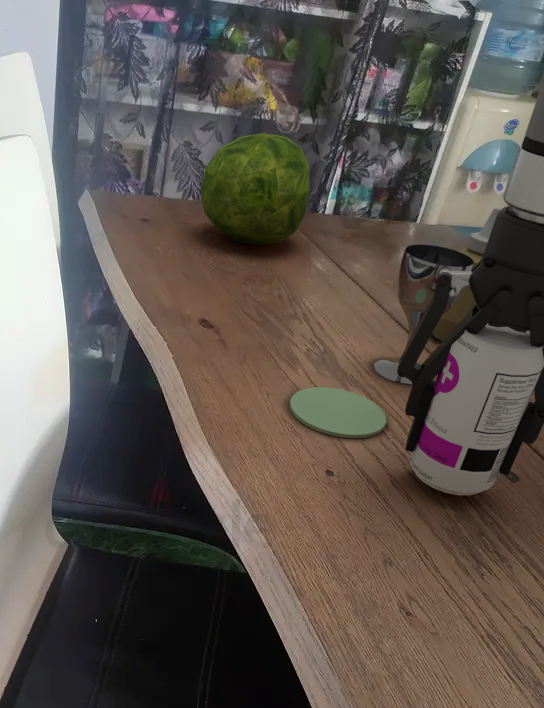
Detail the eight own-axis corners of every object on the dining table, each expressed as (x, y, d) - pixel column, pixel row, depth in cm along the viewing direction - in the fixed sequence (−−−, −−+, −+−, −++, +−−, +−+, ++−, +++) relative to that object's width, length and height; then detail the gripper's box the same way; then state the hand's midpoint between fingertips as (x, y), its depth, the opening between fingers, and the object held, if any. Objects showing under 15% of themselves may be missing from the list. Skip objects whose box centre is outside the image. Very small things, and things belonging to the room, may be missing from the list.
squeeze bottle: (473, 355, 102) (524, 222, 91) (416, 338, 105) (460, 207, 94) (486, 338, 108) (536, 211, 97) (432, 322, 111) (475, 197, 100)
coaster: (389, 405, 87) (390, 401, 87) (379, 448, 79) (381, 444, 78) (299, 382, 90) (300, 378, 89) (280, 422, 81) (281, 418, 81)
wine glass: (392, 353, 100) (427, 241, 91) (443, 376, 95) (486, 260, 87) (358, 366, 95) (392, 249, 86) (411, 391, 91) (452, 271, 82)
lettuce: (309, 237, 143) (317, 132, 135) (301, 254, 123) (310, 132, 115) (211, 235, 147) (213, 133, 139) (188, 251, 127) (190, 133, 119)
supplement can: (403, 484, 71) (452, 339, 62) (411, 445, 77) (458, 307, 68) (490, 508, 69) (554, 361, 60) (492, 465, 75) (550, 327, 66)
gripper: (411, 201, 58) (344, 447, 71) (706, 251, 53) (574, 504, 67) (418, 182, 63) (354, 413, 77) (684, 226, 59) (566, 464, 72)
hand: (456, 455), depth 72 cm, fingers closed on supplement can, 8 cm apart
